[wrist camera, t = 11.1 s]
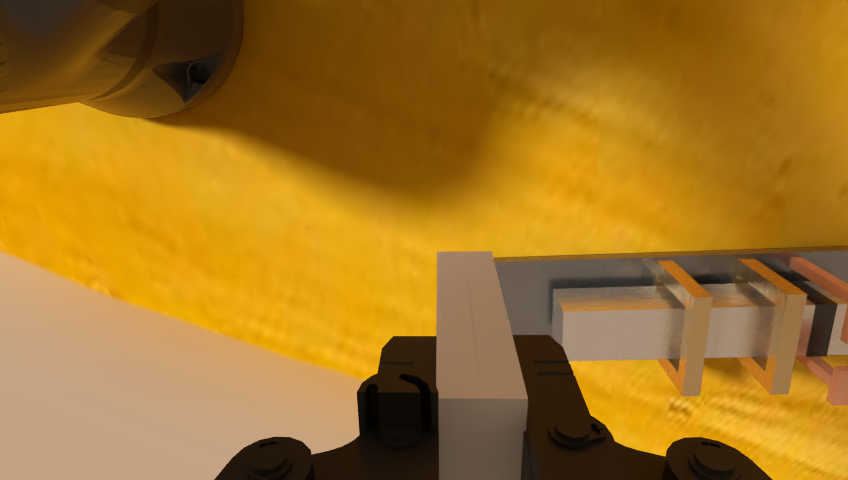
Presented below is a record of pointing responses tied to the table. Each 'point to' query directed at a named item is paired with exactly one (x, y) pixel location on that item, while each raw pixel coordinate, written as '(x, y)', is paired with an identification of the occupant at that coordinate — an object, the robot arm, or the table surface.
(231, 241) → the table surface
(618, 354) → the pale grey bar
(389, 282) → the table surface
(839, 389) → the aperture gantry
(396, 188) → the table surface
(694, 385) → the rail
